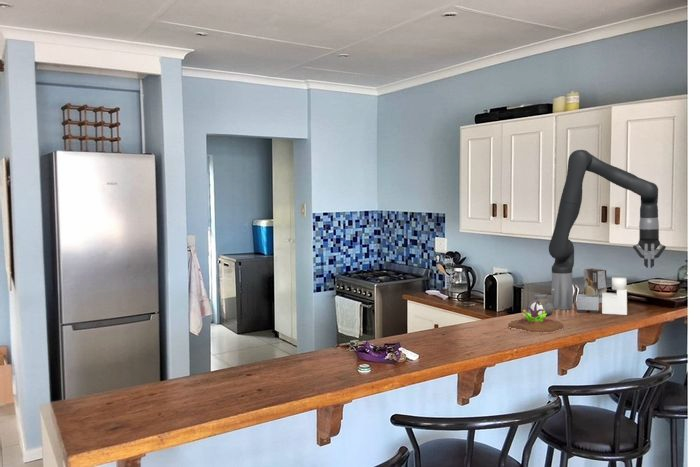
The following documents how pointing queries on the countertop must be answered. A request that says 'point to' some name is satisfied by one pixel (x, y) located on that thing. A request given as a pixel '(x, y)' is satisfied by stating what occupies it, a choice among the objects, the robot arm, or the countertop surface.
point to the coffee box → (595, 282)
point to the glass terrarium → (544, 305)
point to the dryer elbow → (616, 298)
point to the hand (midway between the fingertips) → (649, 267)
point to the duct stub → (587, 303)
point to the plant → (536, 322)
